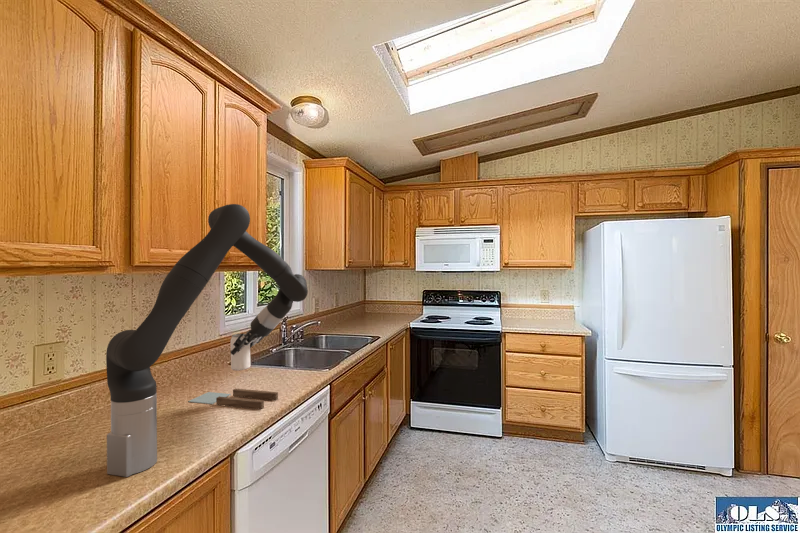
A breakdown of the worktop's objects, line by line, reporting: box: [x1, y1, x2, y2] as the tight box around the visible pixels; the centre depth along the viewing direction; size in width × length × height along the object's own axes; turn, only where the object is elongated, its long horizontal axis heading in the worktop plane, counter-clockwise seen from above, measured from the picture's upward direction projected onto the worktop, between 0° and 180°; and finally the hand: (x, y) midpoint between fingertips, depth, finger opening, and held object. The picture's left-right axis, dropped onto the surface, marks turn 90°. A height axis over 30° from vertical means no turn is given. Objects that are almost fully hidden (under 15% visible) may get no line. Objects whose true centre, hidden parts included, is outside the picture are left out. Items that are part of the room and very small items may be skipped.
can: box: [230, 333, 251, 372], centre depth 135 cm, size 6×6×12 cm
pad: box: [187, 391, 232, 405], centre depth 139 cm, size 10×10×1 cm
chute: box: [215, 388, 279, 410], centre depth 135 cm, size 10×18×2 cm, turn 76°
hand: (238, 352), depth 136 cm, fingers closed on can, 5 cm apart
